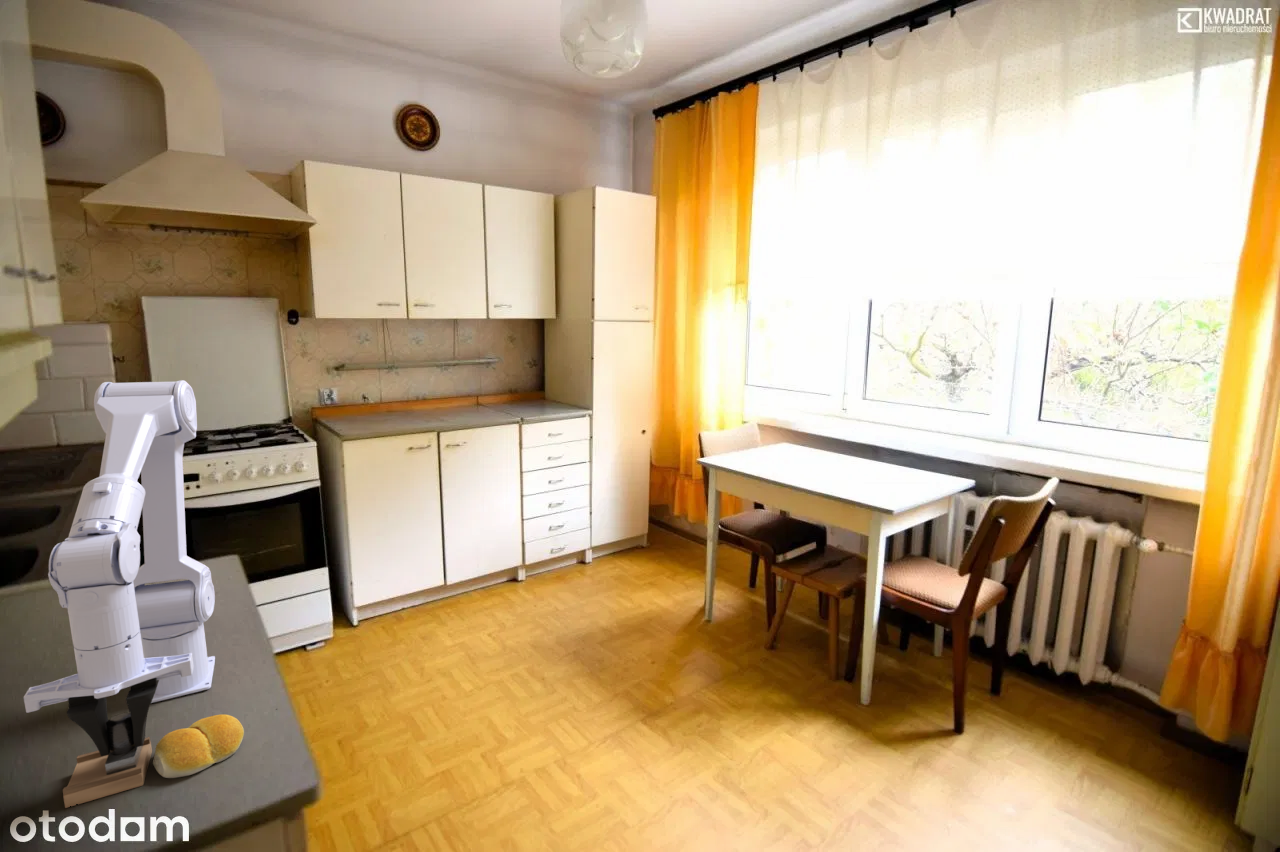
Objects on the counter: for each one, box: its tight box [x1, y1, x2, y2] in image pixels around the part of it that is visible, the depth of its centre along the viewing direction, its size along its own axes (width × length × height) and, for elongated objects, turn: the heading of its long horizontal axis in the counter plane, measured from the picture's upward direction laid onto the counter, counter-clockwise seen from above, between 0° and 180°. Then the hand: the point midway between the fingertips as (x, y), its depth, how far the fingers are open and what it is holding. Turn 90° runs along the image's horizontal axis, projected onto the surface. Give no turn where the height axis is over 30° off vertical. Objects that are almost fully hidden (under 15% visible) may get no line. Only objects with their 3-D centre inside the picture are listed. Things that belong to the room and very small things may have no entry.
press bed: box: [62, 736, 153, 809], centre depth 71 cm, size 6×7×2 cm
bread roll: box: [152, 713, 245, 779], centre depth 76 cm, size 8×9×4 cm
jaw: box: [105, 712, 143, 775], centre depth 72 cm, size 5×3×5 cm, turn 31°
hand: (123, 745), depth 72 cm, fingers closed on jaw, 2 cm apart
